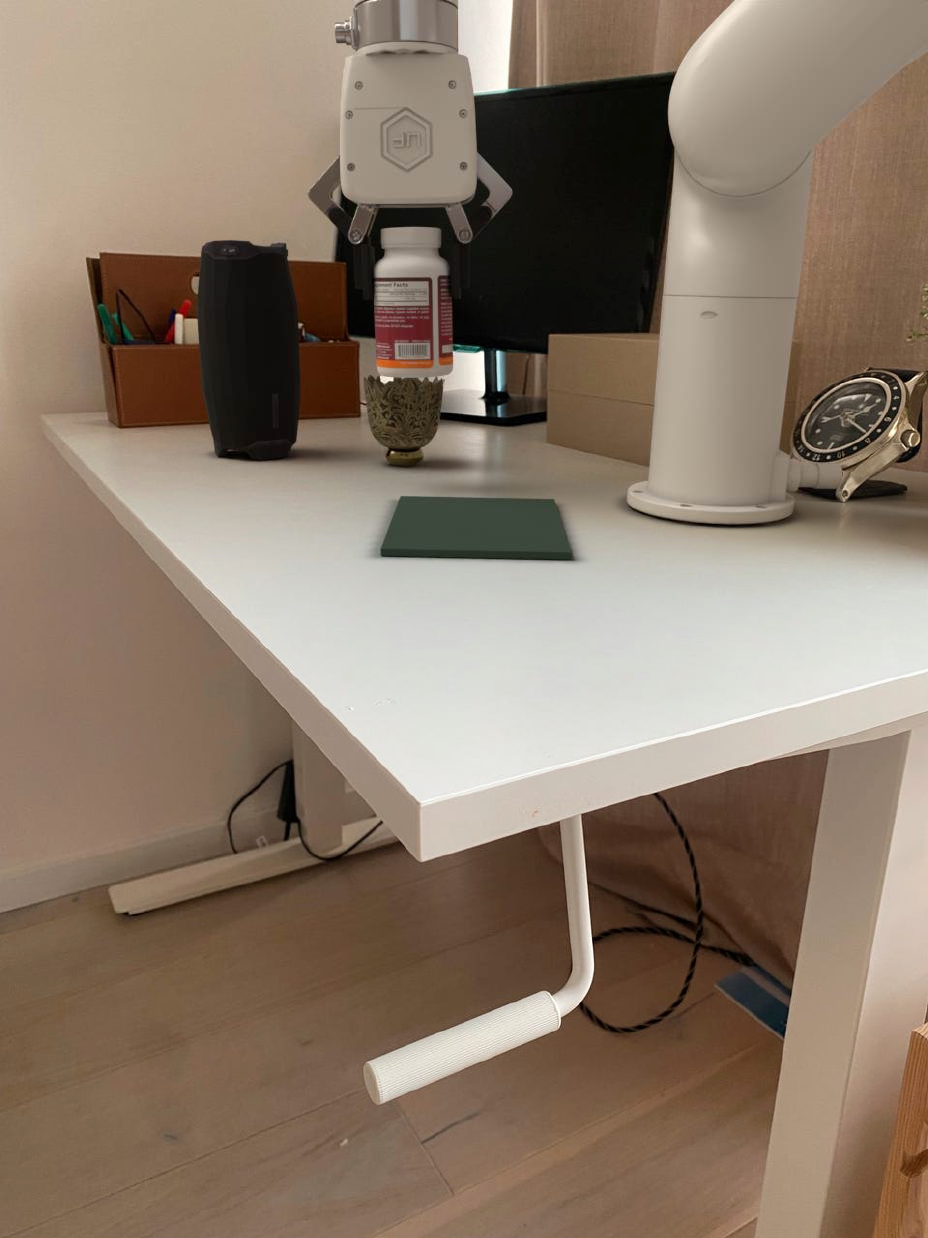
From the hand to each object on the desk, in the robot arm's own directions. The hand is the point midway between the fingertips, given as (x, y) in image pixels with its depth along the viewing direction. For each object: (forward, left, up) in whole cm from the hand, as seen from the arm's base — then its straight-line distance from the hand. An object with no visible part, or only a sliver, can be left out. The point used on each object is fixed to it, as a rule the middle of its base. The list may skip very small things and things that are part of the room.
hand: (412, 296), depth 77 cm
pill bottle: (0, 0, -6) cm, 6 cm away
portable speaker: (+17, -15, -15) cm, 27 cm away
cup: (+2, -11, -15) cm, 19 cm away
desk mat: (-5, +14, -15) cm, 21 cm away
